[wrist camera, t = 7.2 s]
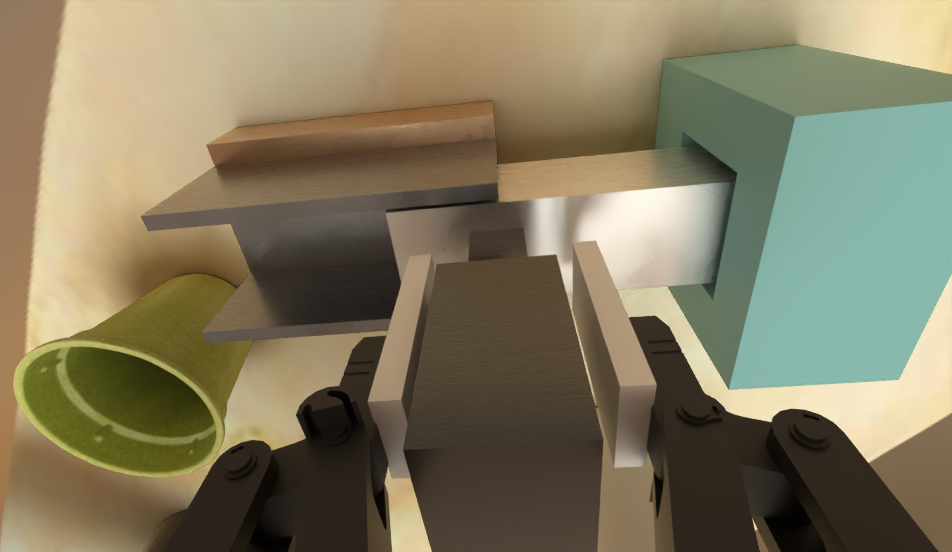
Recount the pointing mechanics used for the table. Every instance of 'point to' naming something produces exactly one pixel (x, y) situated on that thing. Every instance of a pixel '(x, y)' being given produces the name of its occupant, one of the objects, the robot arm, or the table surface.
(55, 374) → the plant pot
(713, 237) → the grey sliding latch bolt
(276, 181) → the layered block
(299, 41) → the table surface
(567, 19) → the table surface
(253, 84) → the table surface
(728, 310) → the socket block
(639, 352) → the robot arm
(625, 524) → the mug
